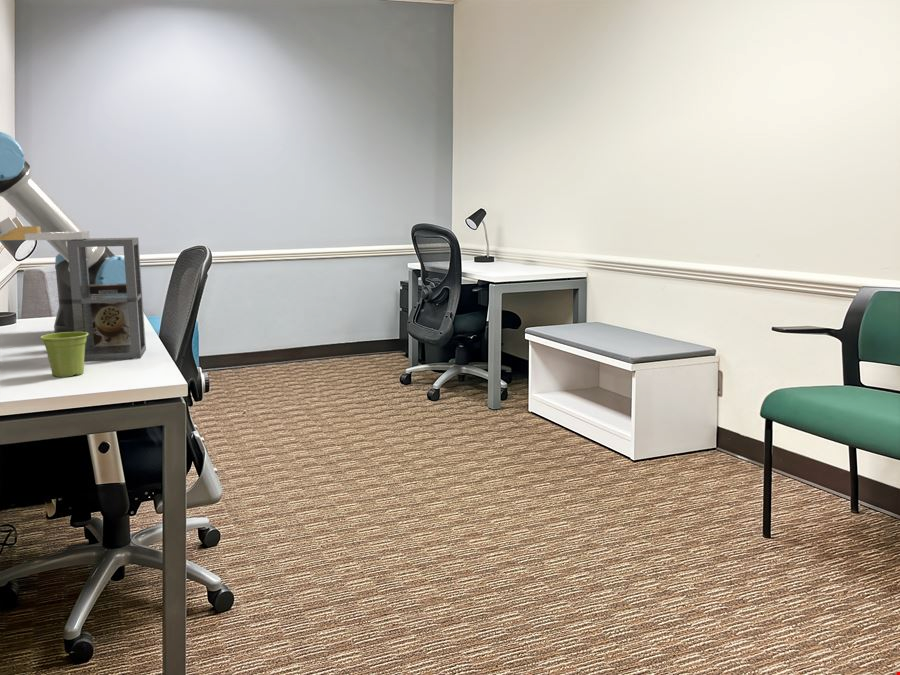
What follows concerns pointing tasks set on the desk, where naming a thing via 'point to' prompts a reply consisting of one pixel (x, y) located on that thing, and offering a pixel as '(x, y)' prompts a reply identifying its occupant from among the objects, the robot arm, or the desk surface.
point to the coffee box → (110, 317)
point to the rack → (107, 297)
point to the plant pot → (66, 352)
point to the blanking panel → (41, 234)
